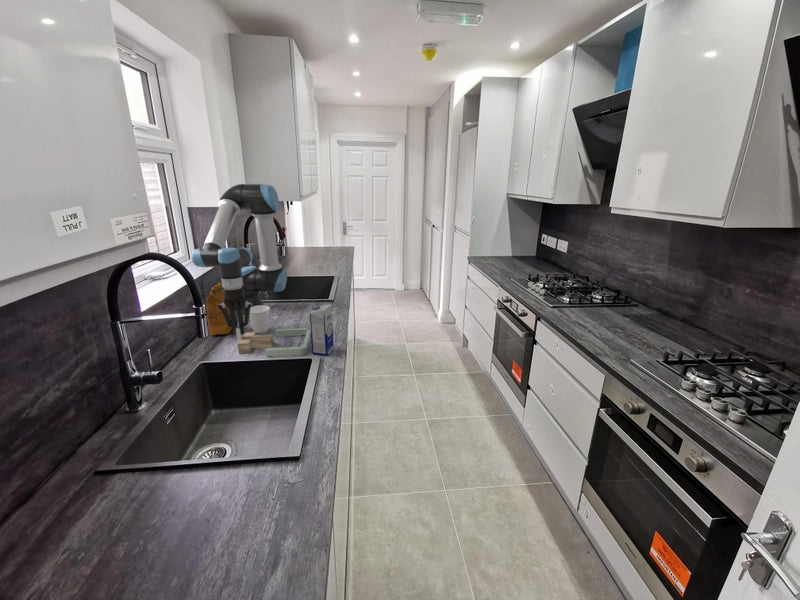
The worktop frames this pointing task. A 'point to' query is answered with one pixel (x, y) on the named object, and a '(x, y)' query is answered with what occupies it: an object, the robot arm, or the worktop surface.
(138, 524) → the worktop surface
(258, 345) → the t block
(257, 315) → the cup
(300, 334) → the dock bay
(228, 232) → the robot arm
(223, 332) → the coffee package
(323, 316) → the milk carton
